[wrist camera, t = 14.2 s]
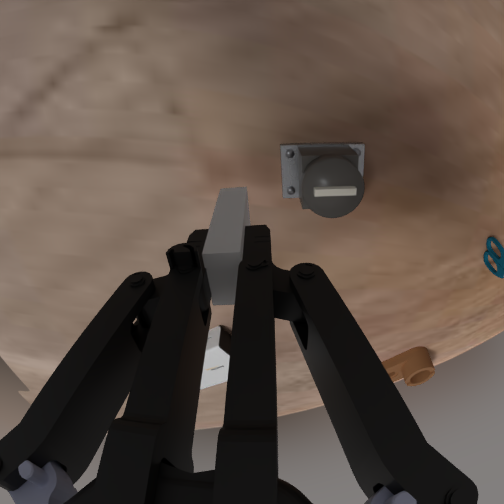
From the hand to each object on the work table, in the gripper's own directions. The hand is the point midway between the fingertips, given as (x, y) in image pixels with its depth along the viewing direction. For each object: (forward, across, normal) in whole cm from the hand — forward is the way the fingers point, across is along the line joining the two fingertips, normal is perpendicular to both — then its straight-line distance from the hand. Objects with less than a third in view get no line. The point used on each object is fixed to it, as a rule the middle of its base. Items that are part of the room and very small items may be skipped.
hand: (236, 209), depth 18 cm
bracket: (+27, +33, -59) cm, 73 cm away
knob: (+25, +10, -7) cm, 28 cm away
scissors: (+27, +47, -23) cm, 59 cm away
